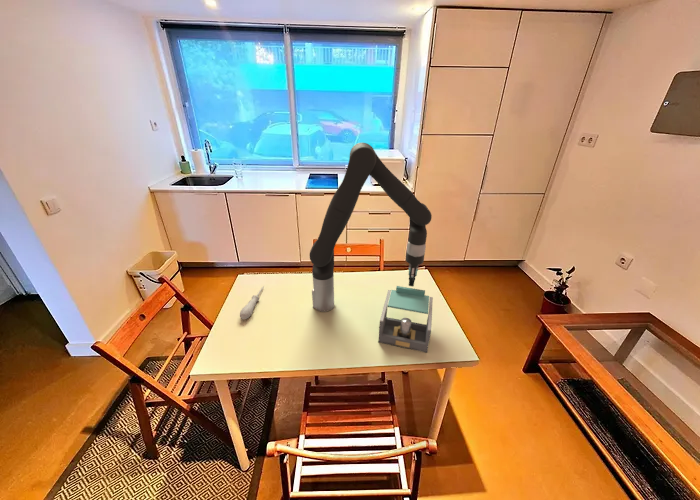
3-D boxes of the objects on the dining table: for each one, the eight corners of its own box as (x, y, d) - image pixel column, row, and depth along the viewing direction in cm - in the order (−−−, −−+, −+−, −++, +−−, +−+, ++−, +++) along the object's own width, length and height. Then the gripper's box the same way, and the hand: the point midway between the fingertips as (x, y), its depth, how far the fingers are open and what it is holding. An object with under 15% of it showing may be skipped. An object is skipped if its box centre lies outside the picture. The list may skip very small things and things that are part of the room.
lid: (387, 306, 117) (388, 300, 116) (391, 291, 126) (392, 285, 125) (427, 314, 113) (429, 307, 112) (428, 297, 123) (430, 291, 121)
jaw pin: (400, 333, 118) (401, 316, 114) (409, 335, 117) (412, 318, 113) (398, 340, 115) (400, 323, 111) (408, 343, 114) (410, 325, 109)
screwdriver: (267, 290, 148) (268, 284, 146) (247, 322, 125) (248, 315, 124) (258, 288, 148) (259, 281, 146) (236, 320, 125) (237, 312, 124)
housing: (378, 342, 115) (379, 320, 109) (386, 310, 132) (388, 289, 127) (427, 353, 111) (431, 330, 105) (429, 318, 128) (432, 297, 122)
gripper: (408, 243, 126) (404, 276, 135) (404, 257, 115) (400, 292, 124) (425, 245, 125) (420, 278, 133) (424, 260, 114) (418, 295, 122)
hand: (411, 285), depth 128 cm, fingers closed
